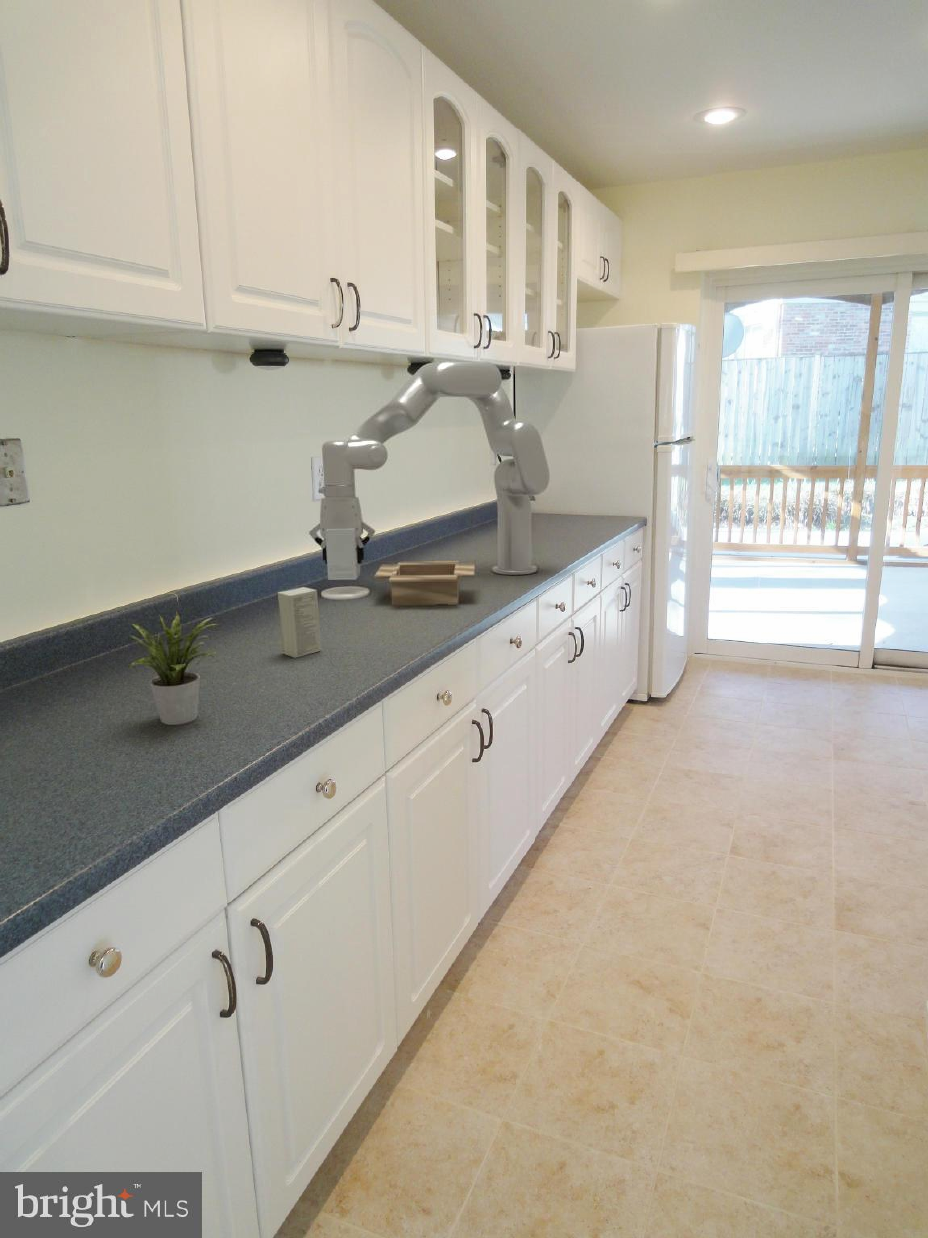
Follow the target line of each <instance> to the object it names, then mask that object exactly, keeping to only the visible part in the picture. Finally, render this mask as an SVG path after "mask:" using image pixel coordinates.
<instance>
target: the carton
mask: <svg viewBox="0 0 928 1238" xmlns="http://www.w3.org/2000/svg"><path fill="white" fill-rule="evenodd" d="M475 566H476V565H475V562H474V563H470V562H469V563H460V561H459V560H435V561H433V560H432V561H431V560H430V561H428V560H427V561H425V560H424V561H421V560H420V561H399V562H398V563H397V564H381V565H380V567H379V568H378V570H377V571H376V573H375V574H374V576H373V579H378V580H379V579H380V580H381V579H388V582H389V583H391V584H390V585H391V586H390V589H391V606H429V605H432V606H433V605H434V606H437V605H436V604H448V605H459V597H460V578H475V568H476V567H475Z"/></svg>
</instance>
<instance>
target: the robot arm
mask: <svg viewBox="0 0 928 1238" xmlns="http://www.w3.org/2000/svg"><path fill="white" fill-rule="evenodd" d="M502 378H503V377H502V373H501V371H500V369H499V368H498V367H497V366H496V365H495V364H494V363H492V362H488V361H450V360H449V361H447V360H446V361H438V362H437V361H436V362H429V363H426V364H424V365H422V366H421V367H420V368H419V369H417V371H416V372H415V373H414V374H413V376H411V378H410V379H409V380H408V381H407V382H406V383H404V385H403V386H402V388H401V389H400V390H399V391H398V392H397V393H396V394H395V396H394V397H392V399H391V400H390V401H389V402H388V403H386V404H385V405H384V406H382V407H381V408H380V409H379V410H378V411H376V412H375V413H373V415H371V416H370V417H369V418H368V419H366V420H365V421H364V422H363V423H362V424H361V425H359V427H358V428H357V429H356V430H355V431H354V433H353V434H352V435H351V436H350V437H349V438H348V439H347V440H329V441H327V440H326V441H325V442H324V443H323V444H322V446H321V452H322V453H321V454H322V468H323V470H322V472H323V486H322V487H318V494H323V498H321V500H320V511H319V513H320V516H319V520H320V521H319V523H317V525H316V526H314V527H313V528H312V529H311V530H310V531H309V532H308V535H310V537H311V538H312V539H313V540H314V542H315V543H316V544H318V546H320V548H321V551H322V561H324V563H325V565H327V551H326V532H325V530H327V529H355V538H356V539H357V544H358V548H357V563H358V564H360V565H361V564H362V562H363V561H364V560H365V546H366V545H367V544H368V543H369V541H370V540H371V539H372V537H374V535H375V533H376V530H375V529H374V528H373V527H371V526H370V525H368V523H366V522H364V521H363V516H362V515H363V514H362V508H361V503H360V499H359V497H358V496H356V476H355V473H356V472H355V470H365V471H374V470H375V471H376V470H378V469H381V468H382V467H383V466H384V465H385V464H386V462H387V460H388V455H389V454H388V450H387V448H386V446H385V445H384V443H385V442H387V441H388V440H390V439H391V438H393V437H395V436H397V435H399V434H401V433H403V432H406V431H408V430H410V429H411V428H413V427H415V426H416V425H417V424H418V422H419V421H420V420H421V419H422V418H423V417H424V416H425V415H426V414H427V413H428V411H429V410H430V409H431V408H432V407H433V406H434V405H435V403H436V402H437V401H438V400H439V399H440V398H443V397H444V398H445V397H446V398H447V397H448V398H449V397H450V398H451V397H455V398H456V397H457V398H467V399H468V400H470V401H471V402H472V403H473V404H474V405H475V406H476V408H477V409H478V412H479V414H480V417H481V420H482V424H483V427H484V430H485V434H486V437H487V441H488V444H489V448H490V450H491V451H492V452H493V454H496V455H498V456H501V457H512V458H507V459H504V460H502V461H501V462H499V463H498V465H497V466H496V468H495V469H494V474H493V482H494V488H495V493H496V502H497V503H496V504H497V565H493V566H492V572H493V573H495V574H500V575H508V576H509V575H510V576H513V575H514V576H519V575H529V574H534V573H536V572H537V571H538V569H537V568H538V567H537V566H536V565H534V564H532V516H533V515H532V514H533V513H532V503H531V498H530V496H539V495H541V494H542V493H543V492H545V491H546V490H547V488H548V487H549V483H550V469H549V466H548V461H547V460H548V459H547V456H546V453H545V449H544V445H543V441H542V438H541V434H540V433H539V431H538V429H537V427H536V426H535V425H534V424H532V423H531V422H529V421H527V420H522V419H521V420H520V419H518V420H517V419H516V417H515V413H514V411H513V408H512V405H511V402H510V398H509V397H508V395H507V393H506V391H505V389H504V388H503V387H502ZM319 531H320V532H319ZM364 531H366V532H367V534H366V536H365V537H364V538H362V535H363V533H364ZM318 532H319V533H320V536H321V537H320V536H319V534H318ZM322 538H323V539H322Z"/></svg>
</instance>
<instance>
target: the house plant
mask: <svg viewBox="0 0 928 1238" xmlns="http://www.w3.org/2000/svg"><path fill="white" fill-rule="evenodd" d="M158 616H159V619H160V621H161V623H162V627H163V631H164V634H165V638H166V643H167V648H168V649H167V650H168V652H167V650H166V647H165V645H164V642H163V639H162V637H161V634H158V635H157V642H156V640H155V638H154V637H153V636H152V635H151V633H150V632H149V631H147V630H146V629H144V628H142V627H141V626H139V625H138V624H135V623H130V624H131V625H132V626H134V628H136V629H137V631H138V632H139V633H140V635H141V636H142V637H143V638H144V640H145V642H146V643H147V644H146V643H145V642H144V641H142V640H141V639H140V638H137V637H136V636H133V635H131V634H129V636H130V638H133V639H134V640H136V641H137V642H139V643H140V645H142V647H144V648H145V649H147V650H148V651H149V657H142V658H139V659H138V660H135V661H133V662H132V663H130V664H129V667H130V666H134V665H135V666H136V665H148V666H149V667H151V668H152V669H153V670H154V671H155V672H156V673H157V675H158V676H155V677H153V678H152V679H150V681H149V685H150V688H151V692H152V694H153V698H154V702H155V704H156V708H157V712H158V715H159V718H160V722H161V723H162V724H165V725H169V726H170V725H171V726H172V725H173V726H174V725H175V726H176V725H183V724H187V723H191V722H193V721H194V720H196V719H197V717H198V709H199V699H200V698H199V695H200V684H201V683H200V681H201V677H200V674H198V673H195V672H192V670H190V671H186V670H187V668H188V665H189V664H190V663H191V662H192V661H194V659H197V658H200V657H202V658H201V660H200V661H199V662H198V663H196V665H195V666H197V665H198V664H199V663H201V661H202V660H203V659H204V658H206V657H212V658H214V659H216V657H215V656H213V655H212V654H218V653H219V652H215V651H214V652H213V651H212V652H210V653H204V651H203V650H200V649H198V648H199V647H200V645H202V644H204V643H206V640H204V641H202V642H199V643H197V644H195V642H197V641H198V640H199V639H202V638H205V637H206V638H207V637H209V635H201V636H199V637H198V638H197V636H198V635H199V633H200V632H202V630H204V629H206V628H207V627H211V626H218V625H219V623H211V624H206V623H207V622H208V621H210V620H212V619H213V618H214V616H212V617H209V618H207V619H205V620H203V621H201V622H200V623H198V624H197V625H196V627H194V629H192V631H190V633H188V634H187V635H185V636H183V637H181V633H182V626H181V621H180V615H179V613H178V611H176V612H175V617H174V619H173V621H172V622H171V626H170V629H169V627H168V625H167V624H166V622H165V620H164V618H163V617H162V616H161V615H160V614H158ZM205 624H206V625H205ZM184 640H185V642H184V644H183V645H182V647H180V645H181V642H183V641H184ZM193 644H195V645H194V646H193ZM192 646H193V647H192ZM200 652H203V653H200ZM199 653H200V654H199Z"/></svg>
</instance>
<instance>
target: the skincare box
mask: <svg viewBox="0 0 928 1238" xmlns="http://www.w3.org/2000/svg"><path fill="white" fill-rule="evenodd" d="M277 599H278V601H277V602H278V612H279V623H280V624H279V625H280V636H281V637H280V638H281V639H280V640H281V648H282V650H281V651H282V655H283V654H284V655H285V656H289V657H291V658H295V659H296V658H299V657H303V656H307V655H310V654H314V653H317V652H320V651H321V650H322V646H321V634H320V619H319V618H320V617H319V615H320V614H319V604H318V602H319V601H318V590H317V589H313V588H310V587H306V586H302V587H296V588H292V589H288V590H283V591H278V592H277Z"/></svg>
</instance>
